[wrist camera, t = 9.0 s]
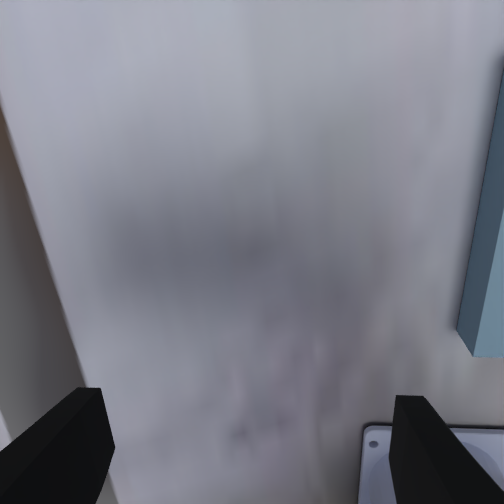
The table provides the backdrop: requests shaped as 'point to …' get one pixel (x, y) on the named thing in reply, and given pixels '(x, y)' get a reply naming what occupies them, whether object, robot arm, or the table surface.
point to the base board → (487, 257)
